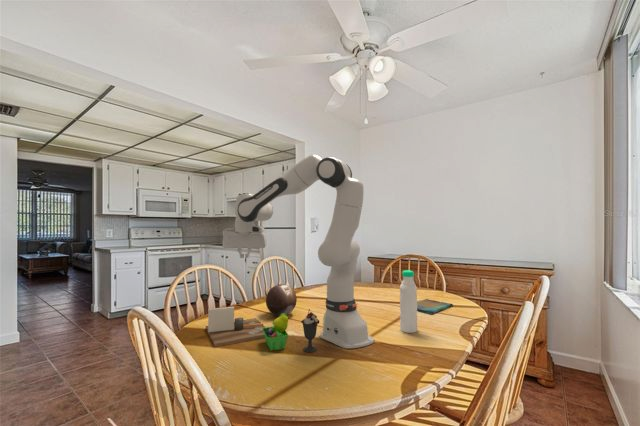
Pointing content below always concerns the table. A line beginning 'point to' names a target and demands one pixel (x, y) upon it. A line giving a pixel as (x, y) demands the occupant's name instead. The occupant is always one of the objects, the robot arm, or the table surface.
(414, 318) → the water bottle
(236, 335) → the wooden board
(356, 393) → the table surface
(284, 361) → the table surface
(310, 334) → the sundae
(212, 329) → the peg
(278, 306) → the wooden sphere
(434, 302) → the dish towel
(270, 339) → the fruit basket
